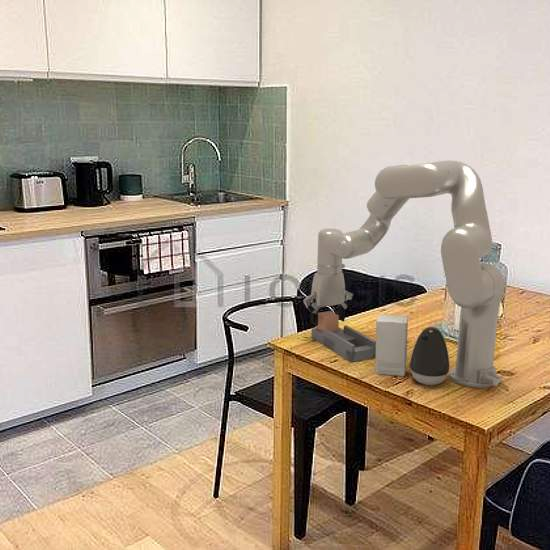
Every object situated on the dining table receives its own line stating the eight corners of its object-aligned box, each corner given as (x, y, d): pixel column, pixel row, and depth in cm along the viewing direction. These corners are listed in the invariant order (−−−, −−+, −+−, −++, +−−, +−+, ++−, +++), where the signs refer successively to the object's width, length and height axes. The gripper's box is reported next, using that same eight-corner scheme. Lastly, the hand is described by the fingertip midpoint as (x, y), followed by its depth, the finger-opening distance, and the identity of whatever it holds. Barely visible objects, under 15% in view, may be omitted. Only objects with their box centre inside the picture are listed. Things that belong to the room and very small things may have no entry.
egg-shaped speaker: (400, 381, 171) (404, 327, 168) (422, 370, 178) (426, 318, 175) (434, 393, 164) (438, 337, 161) (455, 381, 171) (459, 327, 168)
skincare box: (406, 368, 180) (409, 315, 176) (404, 377, 174) (408, 323, 170) (376, 365, 182) (379, 312, 178) (373, 374, 176) (376, 320, 172)
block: (338, 330, 201) (338, 315, 200) (324, 333, 199) (325, 317, 198) (329, 325, 205) (330, 311, 204) (316, 328, 203) (316, 313, 202)
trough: (375, 357, 187) (376, 341, 186) (351, 362, 184) (352, 346, 183) (334, 333, 207) (334, 318, 206) (311, 337, 204) (311, 322, 202)
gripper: (346, 263, 204) (344, 315, 209) (298, 269, 197) (297, 322, 201) (360, 269, 198) (357, 322, 202) (311, 275, 190) (309, 329, 195)
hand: (327, 322), depth 202 cm, fingers open, 9 cm apart
